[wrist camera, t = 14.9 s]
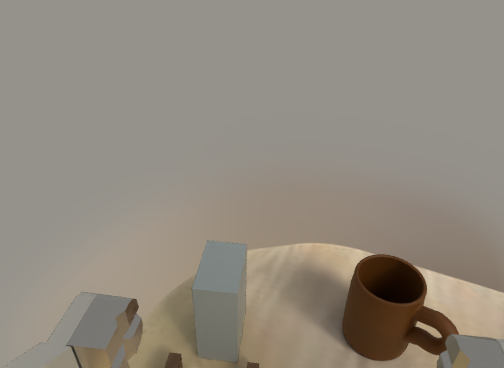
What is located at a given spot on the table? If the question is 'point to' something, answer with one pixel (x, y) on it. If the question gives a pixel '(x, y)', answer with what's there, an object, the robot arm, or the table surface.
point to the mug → (391, 310)
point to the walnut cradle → (175, 364)
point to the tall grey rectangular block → (220, 300)
